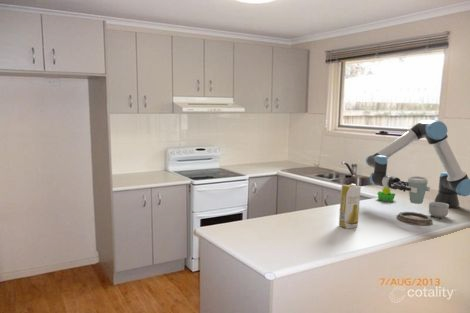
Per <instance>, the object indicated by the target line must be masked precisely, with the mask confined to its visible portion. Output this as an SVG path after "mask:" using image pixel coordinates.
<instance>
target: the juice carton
mask: <svg viewBox="0 0 470 313" xmlns="http://www.w3.org/2000/svg"><path fill="white" fill-rule="evenodd" d="M360 201H361V186H360V185H357V184H356V183H351V184H345V185H344V184H343V185H341V192H340V203H339V204H340V205H339V217H338V226H340V227H342V228H344V229H346V230H347V229H355V228H358V226H359V225H358V224H359V213H360V212H359V211H360Z"/></svg>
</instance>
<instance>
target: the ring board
mask: <svg viewBox="0 0 470 313" xmlns="http://www.w3.org/2000/svg"><path fill="white" fill-rule="evenodd" d="M396 219H397V220H399V221H400V222H403V223H405V224H411V225H417V226H428V225H432V224H433V219H432V217H431V216H430V215H428V214H424V213H421V212H414V211H400V212H399V213H398V214H397V215H396Z"/></svg>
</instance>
